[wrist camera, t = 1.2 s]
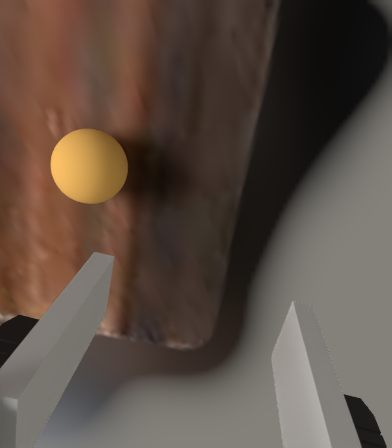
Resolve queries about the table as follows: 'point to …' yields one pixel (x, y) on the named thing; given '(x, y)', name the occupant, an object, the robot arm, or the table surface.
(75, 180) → the ball
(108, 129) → the table surface
